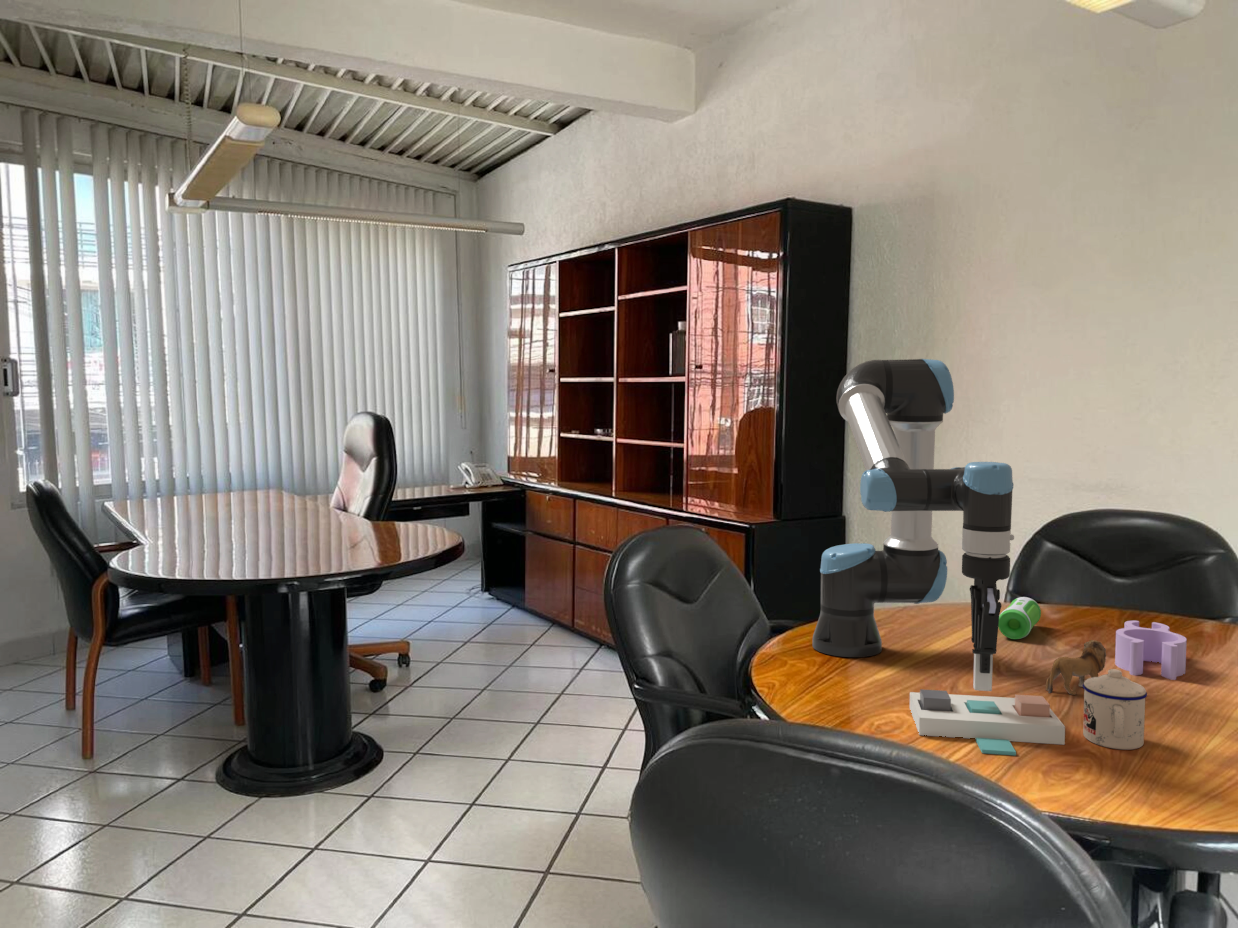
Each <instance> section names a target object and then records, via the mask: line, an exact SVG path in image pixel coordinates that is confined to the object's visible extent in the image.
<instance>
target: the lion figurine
mask: <svg viewBox="0 0 1238 928" xmlns="http://www.w3.org/2000/svg"><path fill="white" fill-rule="evenodd" d="M1083 646H1084V647H1083V650H1082V653H1081V655H1080V656H1079V657H1069V656H1060V657H1058V658H1056V659H1055V660H1054V661H1053V662H1052V666H1051V669H1050V675H1049V677H1047V679H1046V681H1045V691H1047V692H1048V694H1053V691H1054V687H1053V686H1054V681H1055V680H1056V679H1057V678H1058V677H1059V676H1060V674H1061V676H1062V678H1063V681H1064V682H1063V688H1064V689H1065V690H1066V692H1067V693H1068V695H1071V696H1072V695H1073V696H1074V695H1076V694H1077V693H1076V691H1075V690H1072V688H1071V687H1070V686H1071V682H1072V679H1073V677H1077V678H1078V679H1079V680H1078V687H1080V688H1083V684H1084V682H1085V678H1086V676H1088V675H1089V676H1090V678H1093V677H1099V674H1100V672H1103V670H1104V669H1105V665H1106V660H1107V659H1106V656H1107V653H1106V651H1107V648H1106V647H1105V646H1104V645H1103V644H1102V642H1101V641H1099V640H1096V639H1095V640H1093V639H1091V640H1089V641H1086V642H1085V643H1084V644H1083Z"/></svg>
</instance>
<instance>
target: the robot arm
mask: <svg viewBox="0 0 1238 928" xmlns="http://www.w3.org/2000/svg"><path fill="white" fill-rule="evenodd" d="M954 389H955V388H954V383H953V378H952V375H951V372H950V370H949V368H948V366H947V365H946V364H945V363H944V361H941V360H938V359H926V358H915V359H912V358H911V359H909V358H908V359H870V360H867V361H864V362H861V363H860V364H857V365H856V366H854V367H853V368H851V370H849V371H848V373H846V375H844V376H843V378H842V380H841V381H840V383H839V385H838V388H837V391H836V405H837V409H838V412H839V414H840V416H841V417H842V418H843V420H845V421H846V422H848V424H849V428H850V430H851V433H852V436H853V439H854V441H855V444H856V446H857V449H858V452H859V454H860V459H861V461H862V463H863V466H864V470H865V471H863V473H862V474H861V477H860V486H859V491H860V492H859V493H860V496H861V497H860V499H861V503H862V506H863V507H864V508H865V509H866V510H868V511H877V512H878V511H882V512H883V513H884V512H885V513H887V512H891V517H890V518H891V519H890V535H889V536H888V537H887V538H886V539H885V540H883V544H882V545H883V549H882V550H876V548H875V546H874V545H873V544H871V543H865V542H863V543H858V542H855V543H846V544H839V545H835V546H831V547H829V548H827V549H825V550H824V551H823V552H822V554H821V558H820V559H821V561H820V568H819V572H820V613H819V616H818V620H817V622H816V626H815V628H814V631H813V634H812V648H813V650H815V651H817V652H819V653H822V654H825V655H826V654H827V655H829V656H834V657H840V658H841V657H843V658H867V657H871V656H876V655H879V654H880V653H881V652H882V647H883V646H882V642H883V641H882V637H881V634H880V632H879V628H878V625H877V621H876V619H875V603H877V604H878V603H880V604H883V603H884V604H896V603H897V604H899V603H901V604H916V605H919V604H922V603H923V604H924V603H925V604H926V603H927V604H928V603H934V602H936V601H938V600H939V599H940V597H942V595H943V593H944V591H945V587H946V583H947V579H948V566H947V564H948V560H947V557H946V555H945V553H944V551H941V550H939V543H938V542H937V541H935V539H934V538H933V537H932V530H933V529H932V527H933V512H944V511H945V512H947V511H948V512H955V511H956V512H962V513H963V514H962V517H963V518H962V522H963V523H962V532H961V534H962V538H961V539H962V541H961V549H962V551H963V554H962V555H961V574H962V575H963V576H965V577H967V578H970V579H973V580H974V581H973V585H972V584H971V585H970V587H969V591H970V608H971V611H970V614H971V615H970V616H971V642H972V643H973V648H972V649H971V650H972V654H973V682H972V683H973V685H972V687H973V689H974V691H979V692H980V691H984V692H992V691H993V690H992V689H993V664H994V663H993V662H994V661H993V659H994V658H993V657H994V656H993V655H996V654H997V646H998V634H999V627H998V625H999V615H1000V614H1001V610H1002V603H1001V602H1000V601H999V600H1000V598H1001V591H1000V589H997V588H998V587H997V582H998V581H1001V580H1002V581H1003V580H1006V579H1008V578H1009V577H1010V576H1011V557H1010V556H1009V555H1008V554H1009V553H1011V543H1010V542H1011V541H1014V539H1015V536H1014V534H1011V529H1012V512H1013V510H1012V507H1013V506H1012V505H1013V489H1014V482H1013V481H1014V480H1013V468H1012V466H1011V465H1010V464H1009V463H1006V462H998V461H997V462H996V461H970V462H968V463H967V464H966V465H965V466H964V467H957V466H956V467H952V468H937V469H936V468H935V467H934V466H935V447H936V446H935V441H936V430H937V428H938V427H939V426H941V424H942V423H943V422H944V414H945V415H946V414H948V413H950V412H951V411H952V409H953V407H954V401H955V390H954Z"/></svg>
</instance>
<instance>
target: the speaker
mask: <svg viewBox="0 0 1238 928" xmlns="http://www.w3.org/2000/svg"><path fill="white" fill-rule="evenodd" d="M1041 615H1042V611H1041V608H1040V605H1039V604H1038V602H1037V601H1036V600H1034V599H1033V598H1030V597H1027V596H1021V597H1017V598H1015V599H1013V600H1012V601H1011V603H1010V604H1009V605H1008V607H1006V608H1005V609H1004V610H1002V612H1000V615H999V625H998V631H1000V632H1001V634H1002V635H1003V636H1005V637H1006V638H1008V639H1010V640H1021V639H1023V638H1026V637H1027V636H1028V635H1029V634H1030V633H1031V631H1032V629H1033V627H1034V626H1035V625H1036V624H1038V622H1039V621H1040V620H1041Z"/></svg>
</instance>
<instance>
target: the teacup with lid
mask: <svg viewBox="0 0 1238 928" xmlns="http://www.w3.org/2000/svg"><path fill="white" fill-rule="evenodd" d="M1082 688H1083V689H1084V692H1083V693H1084V694H1083V720H1082V721H1083V724H1082V725H1083V726H1082V728H1083V729H1082V734H1083V737H1084V738H1085V739H1086V740H1088V741H1089V742H1090V743H1092V744H1095V745H1097V746H1101V747H1104V748H1109V749H1112V750H1113V749H1114V750H1126V751H1127V750H1136V749H1139V748H1141V747H1142V746H1143V745H1144V742H1145V716H1146V715H1145V714H1146V713H1145V712H1146V711H1145V710H1146V698H1147V697H1148V693H1147V690H1146V688H1145V687H1144V686H1143V685H1141V684H1140V683H1137V682H1135V681H1132V680H1131V679H1129V678H1128V677H1126V676H1123V672H1122V671H1121V670H1120V669H1116V668H1110V669H1108V670H1107V673H1105V674H1102V675H1098V677H1093V678H1091V677H1088V678H1087V679H1086V680H1085V682H1084V684H1083V687H1082Z"/></svg>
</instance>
